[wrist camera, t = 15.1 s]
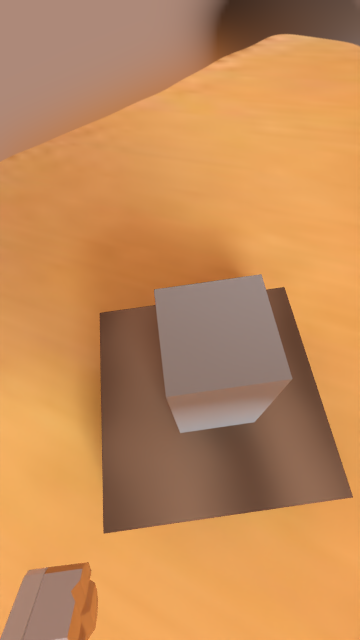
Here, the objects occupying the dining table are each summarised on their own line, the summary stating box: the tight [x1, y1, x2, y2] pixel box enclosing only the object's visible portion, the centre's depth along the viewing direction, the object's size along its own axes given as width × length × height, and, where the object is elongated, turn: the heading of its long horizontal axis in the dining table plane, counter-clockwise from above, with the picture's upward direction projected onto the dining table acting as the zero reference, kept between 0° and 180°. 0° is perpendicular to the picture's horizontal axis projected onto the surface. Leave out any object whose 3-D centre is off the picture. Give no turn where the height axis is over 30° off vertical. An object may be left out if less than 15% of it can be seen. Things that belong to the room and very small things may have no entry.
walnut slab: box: [100, 287, 353, 533], centre depth 20 cm, size 12×12×5 cm
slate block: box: [154, 275, 292, 433], centre depth 15 cm, size 4×4×8 cm
